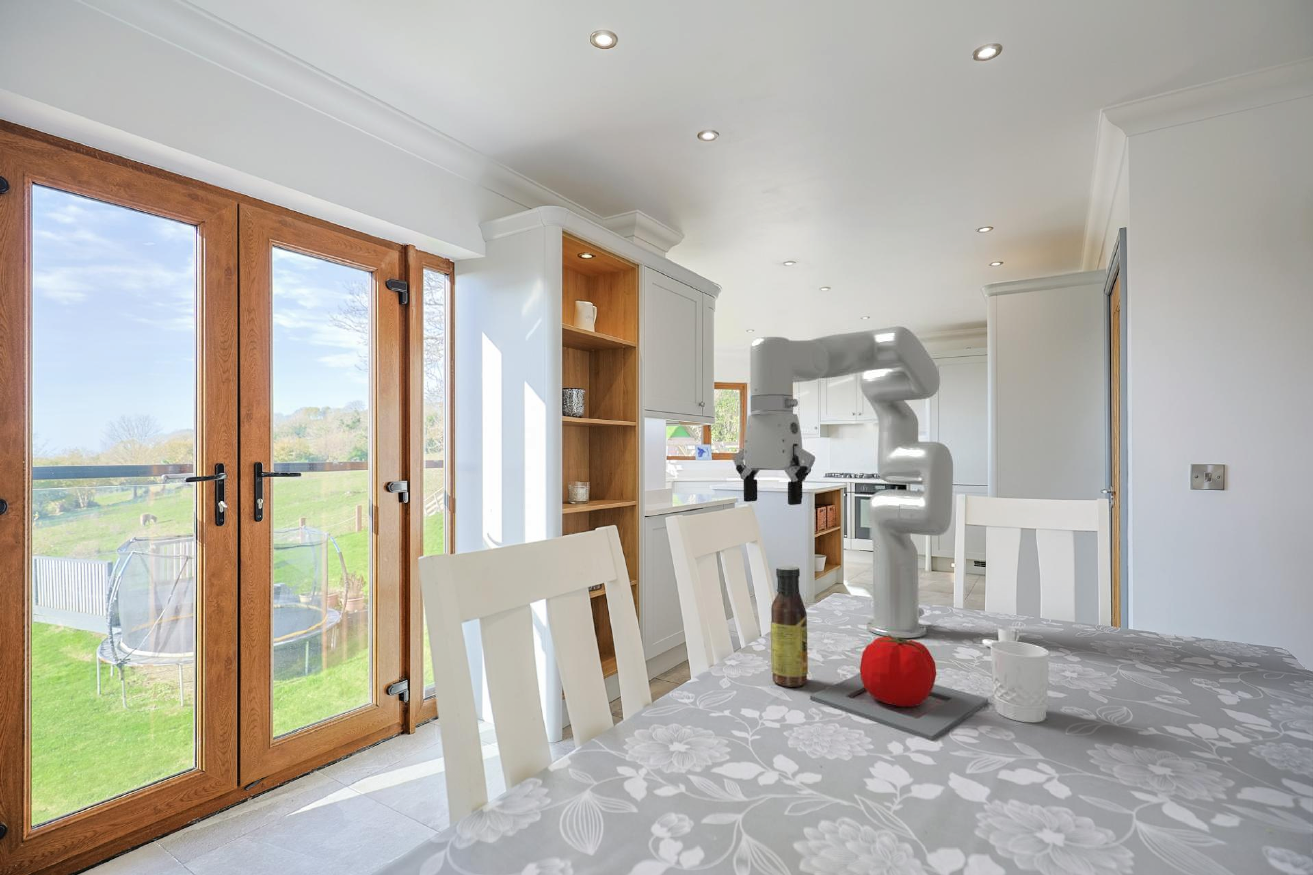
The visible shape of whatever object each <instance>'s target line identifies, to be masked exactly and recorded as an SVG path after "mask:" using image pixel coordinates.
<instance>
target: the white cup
mask: <svg viewBox="0 0 1313 875" xmlns="http://www.w3.org/2000/svg"><path fill="white" fill-rule="evenodd" d="M990 659H991V660H990V662H991V663H990V664H991V677H992V689H993V690H992V691H993V693H994V709H995V711H996V713H997V714H999V715H1001V716H1002V717H1005V718H1007V719H1010V720H1013V721H1017V722H1022V723H1032V724H1033V723H1035V724H1036V723H1042V722H1044V721H1045V719H1046V718H1047V701H1048V689H1049V676H1050V674H1049V672H1050V651H1049V650H1048V649H1047V648H1044V647H1042V646H1039V645H1036V644H1031V643H1028V642H1023V641H1022V642H1020V641H1017V642H1015V640H1014V641H998V642H993V643H991V645H990Z"/></svg>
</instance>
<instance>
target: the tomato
mask: <svg viewBox="0 0 1313 875" xmlns="http://www.w3.org/2000/svg"><path fill="white" fill-rule="evenodd" d="M887 635H888V634H887ZM889 636H890V635H888V636H881V637H877V638H875V639H874V640H873V641H872V642H871V643H869V644H868V645H866V646H865V648H864V649H863V651H862V655H861V658H860V666H859V674H861V680H862V682H863V685H864V687H865V689H866V690H865V691H867V692H868V694H869V695H870V696H871V697H873V698H874V699H876V700H877V701H879V702H882V703H885V704H888V705H893V706H897V707H902V708H904V707H916V706H919V705H922V703H923V702H924V701H926V700H927V698H929V696H930V695H929V694H930V692H931V690H932V689H933V686H934V684H935V682H936V677H937V667H936V662H935V659H934V658H933V656H932V653H931V652H930V651H929V649H928V648H927V647H926V646H925V645H924V644H922V643H921V642H919V641H915V640H912V639H911V638H901V637H898V638H897V637H892V636H890V637H889Z"/></svg>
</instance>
